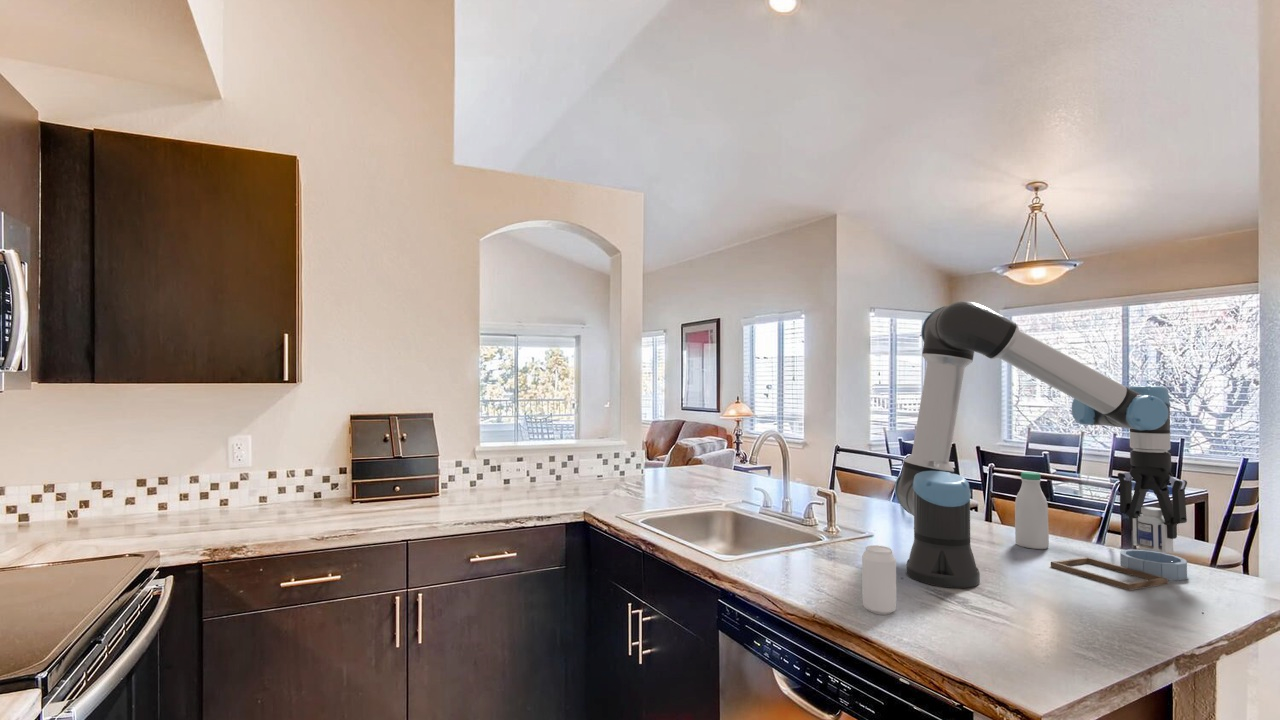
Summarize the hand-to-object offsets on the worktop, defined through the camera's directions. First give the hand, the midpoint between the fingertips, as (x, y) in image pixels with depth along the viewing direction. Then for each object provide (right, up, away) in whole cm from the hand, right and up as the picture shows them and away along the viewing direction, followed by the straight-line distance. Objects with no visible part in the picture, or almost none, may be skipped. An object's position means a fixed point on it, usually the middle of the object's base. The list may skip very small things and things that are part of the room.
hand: (1152, 548), depth 145 cm
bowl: (0, -6, 0) cm, 6 cm away
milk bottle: (-15, -6, +22) cm, 27 cm away
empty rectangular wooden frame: (-13, -5, -3) cm, 14 cm away
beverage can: (-75, -5, -25) cm, 79 cm away
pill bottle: (0, -1, 0) cm, 1 cm away
